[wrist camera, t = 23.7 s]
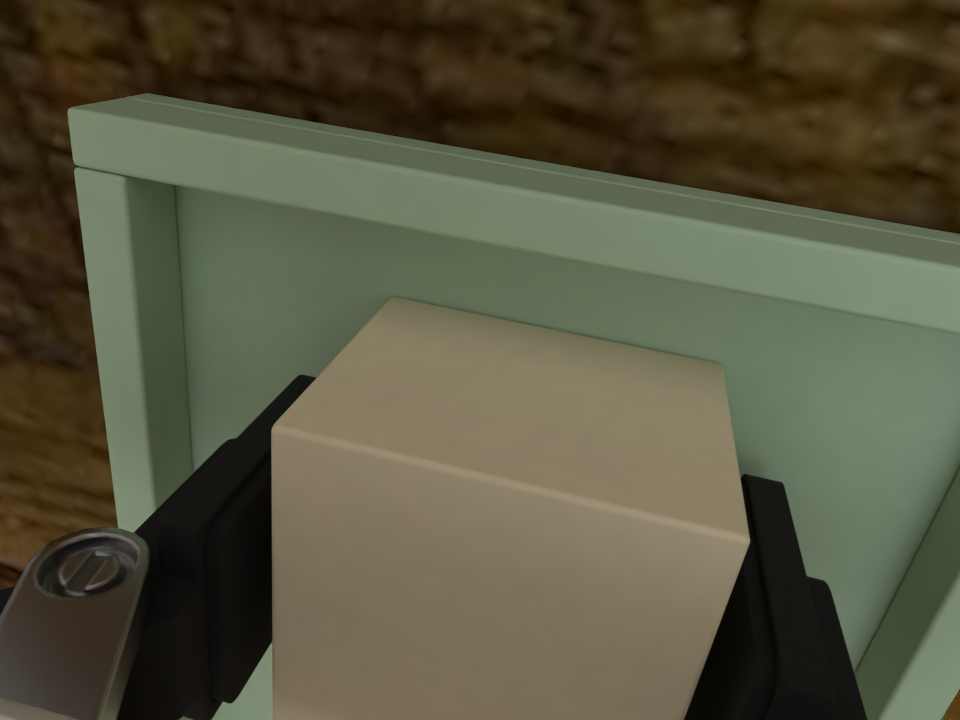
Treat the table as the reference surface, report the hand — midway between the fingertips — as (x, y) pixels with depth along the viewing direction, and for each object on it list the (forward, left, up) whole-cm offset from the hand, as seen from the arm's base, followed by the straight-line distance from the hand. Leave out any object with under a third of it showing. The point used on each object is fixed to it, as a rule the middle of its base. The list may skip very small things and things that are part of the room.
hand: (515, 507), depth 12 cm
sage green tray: (+2, -3, -1) cm, 4 cm away
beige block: (0, 0, -1) cm, 1 cm away
